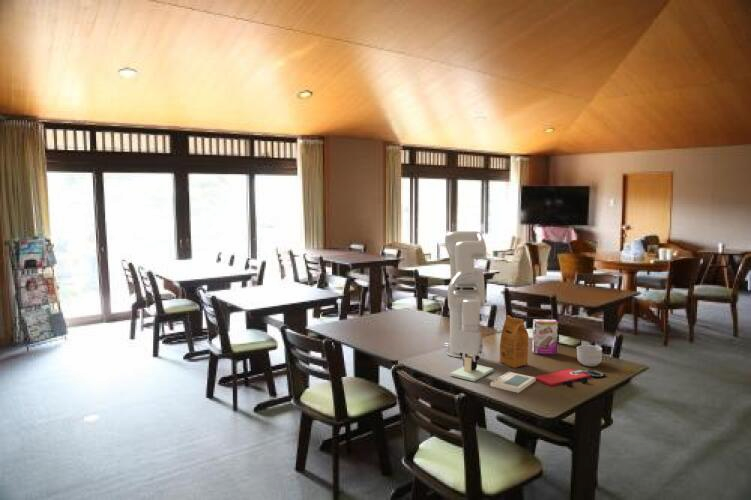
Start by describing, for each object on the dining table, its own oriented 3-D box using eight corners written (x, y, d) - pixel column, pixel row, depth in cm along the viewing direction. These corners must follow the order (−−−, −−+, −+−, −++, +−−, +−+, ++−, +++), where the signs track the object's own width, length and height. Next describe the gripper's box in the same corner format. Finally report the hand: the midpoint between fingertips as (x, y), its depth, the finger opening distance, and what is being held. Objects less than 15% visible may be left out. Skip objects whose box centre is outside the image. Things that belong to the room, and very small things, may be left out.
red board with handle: (610, 378, 220) (582, 368, 233) (610, 371, 220) (582, 362, 233) (557, 391, 207) (531, 380, 220) (557, 384, 207) (531, 373, 220)
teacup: (590, 369, 231) (590, 352, 230) (570, 363, 240) (571, 346, 239) (611, 365, 237) (612, 347, 236) (591, 358, 246) (592, 342, 246)
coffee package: (513, 358, 247) (514, 313, 245) (530, 366, 235) (531, 318, 233) (495, 361, 243) (496, 315, 241) (512, 369, 232) (513, 320, 229)
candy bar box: (533, 354, 253) (534, 321, 252) (531, 351, 258) (532, 319, 257) (557, 355, 252) (558, 321, 251) (555, 352, 257) (555, 319, 256)
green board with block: (450, 375, 223) (450, 359, 222) (470, 365, 236) (470, 350, 235) (474, 381, 216) (474, 364, 215) (493, 370, 229) (493, 354, 228)
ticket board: (490, 386, 211) (490, 382, 211) (508, 375, 224) (508, 371, 224) (518, 392, 203) (518, 388, 203) (535, 381, 217) (535, 377, 216)
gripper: (449, 326, 227) (449, 367, 228) (483, 332, 216) (483, 375, 218) (458, 323, 232) (457, 363, 234) (491, 328, 222) (491, 370, 224)
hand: (470, 368), depth 226 cm, fingers closed on green board with block, 3 cm apart
